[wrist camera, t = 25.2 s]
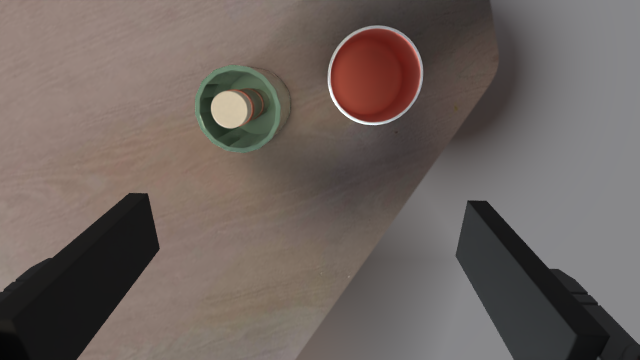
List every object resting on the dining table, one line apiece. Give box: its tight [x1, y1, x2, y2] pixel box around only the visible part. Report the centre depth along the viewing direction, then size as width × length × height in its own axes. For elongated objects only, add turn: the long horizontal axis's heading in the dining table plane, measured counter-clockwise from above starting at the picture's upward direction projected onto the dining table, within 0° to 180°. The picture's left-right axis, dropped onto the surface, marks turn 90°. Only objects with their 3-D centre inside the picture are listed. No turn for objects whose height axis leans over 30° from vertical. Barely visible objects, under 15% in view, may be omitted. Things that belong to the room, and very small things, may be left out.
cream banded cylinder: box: [211, 88, 269, 128], centre depth 39 cm, size 4×4×13 cm
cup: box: [328, 25, 423, 125], centre depth 40 cm, size 10×10×10 cm
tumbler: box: [195, 65, 291, 153], centre depth 41 cm, size 9×9×11 cm
